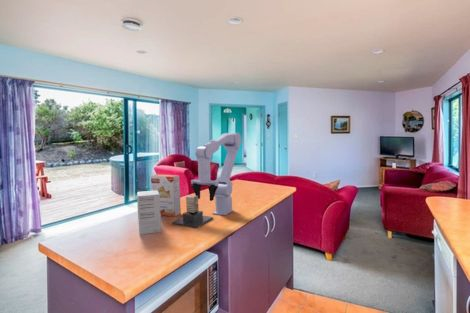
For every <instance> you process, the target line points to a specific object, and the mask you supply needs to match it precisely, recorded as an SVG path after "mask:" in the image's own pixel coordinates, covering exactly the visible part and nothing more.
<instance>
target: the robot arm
mask: <svg viewBox="0 0 470 313" xmlns="http://www.w3.org/2000/svg"><path fill="white" fill-rule="evenodd" d="M241 143H242V136H241V134H240V133H239V132H224V133H222V134H221V135H220V136H219V137H218V138H217V139H216V140H214V139H210V140H209V141H208V143H204V144H203V146H198V147H197V148H196V150H195V152H194V153H195V155H194V156H195V157H196V161H197V166H198V167H197V172H198V179H191V180H190V184H191V188H192V190H193V192H194V195H196V196H198V200H200V199H201V188H202V185H203V186H204V185H206V186H207V188H208V191H209V192H208V193H209V201H210V202H212V201H214V200H215V201H214V202H215V203H214V204H215V211H213V212H212V214H214V215H220V216H227V215H228V214H230V213H232V212H234V209H233V199H232V197H231V195H232V193H233V186H234V185H233V182H232V181H231V180H230V179H231V176H232V172H233V169H234V165H235V162H236V158H237V154H238V151H239V150H240V147H241ZM221 146H223V147H224V149H225V150H226V151H227V154H226V156H225V159H224V163H223V166H222V169H221V172H220V175H219V177H217V179H215V180H211V158H212V157H213V155H214V153H216V152H217V151H218V150H219V149H220V147H221Z"/></svg>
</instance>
